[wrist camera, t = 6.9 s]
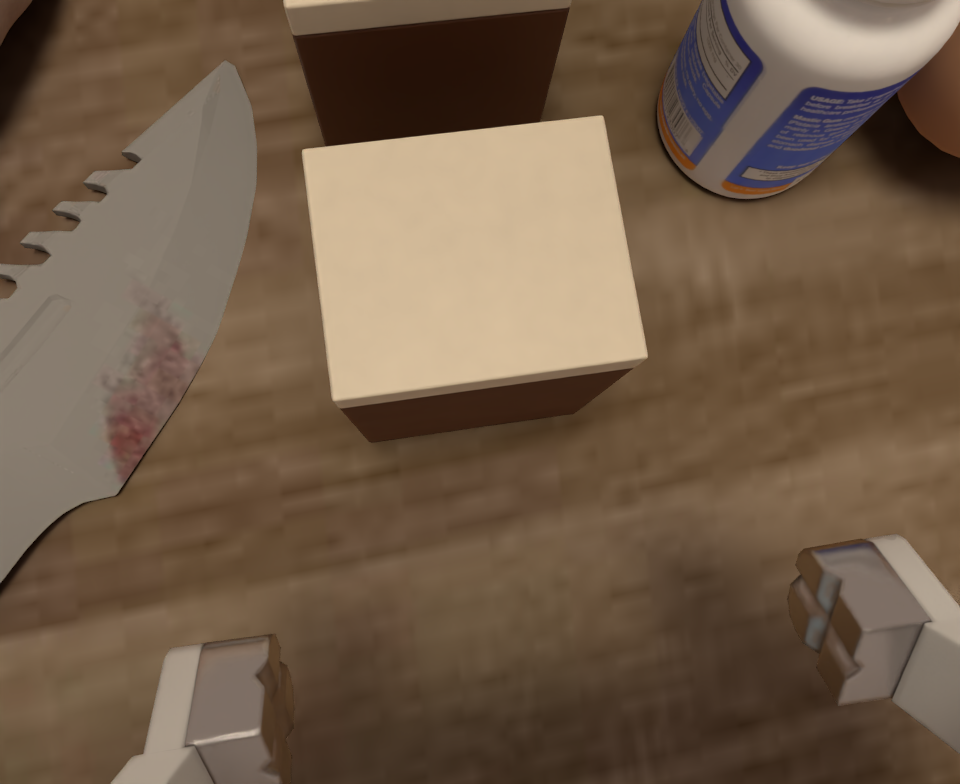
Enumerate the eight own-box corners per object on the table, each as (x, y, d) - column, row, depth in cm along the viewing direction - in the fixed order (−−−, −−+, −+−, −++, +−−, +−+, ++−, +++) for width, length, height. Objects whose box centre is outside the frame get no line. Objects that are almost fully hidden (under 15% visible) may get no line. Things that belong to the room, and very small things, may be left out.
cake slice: (368, 443, 22) (332, 401, 14) (347, 274, 23) (301, 147, 15) (575, 413, 23) (649, 357, 15) (547, 249, 23) (604, 113, 16)
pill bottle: (849, 95, 25) (1110, -171, 15) (776, 236, 24) (1003, 46, 14) (699, 13, 25) (862, -301, 15) (621, 149, 24) (742, -95, 14)
